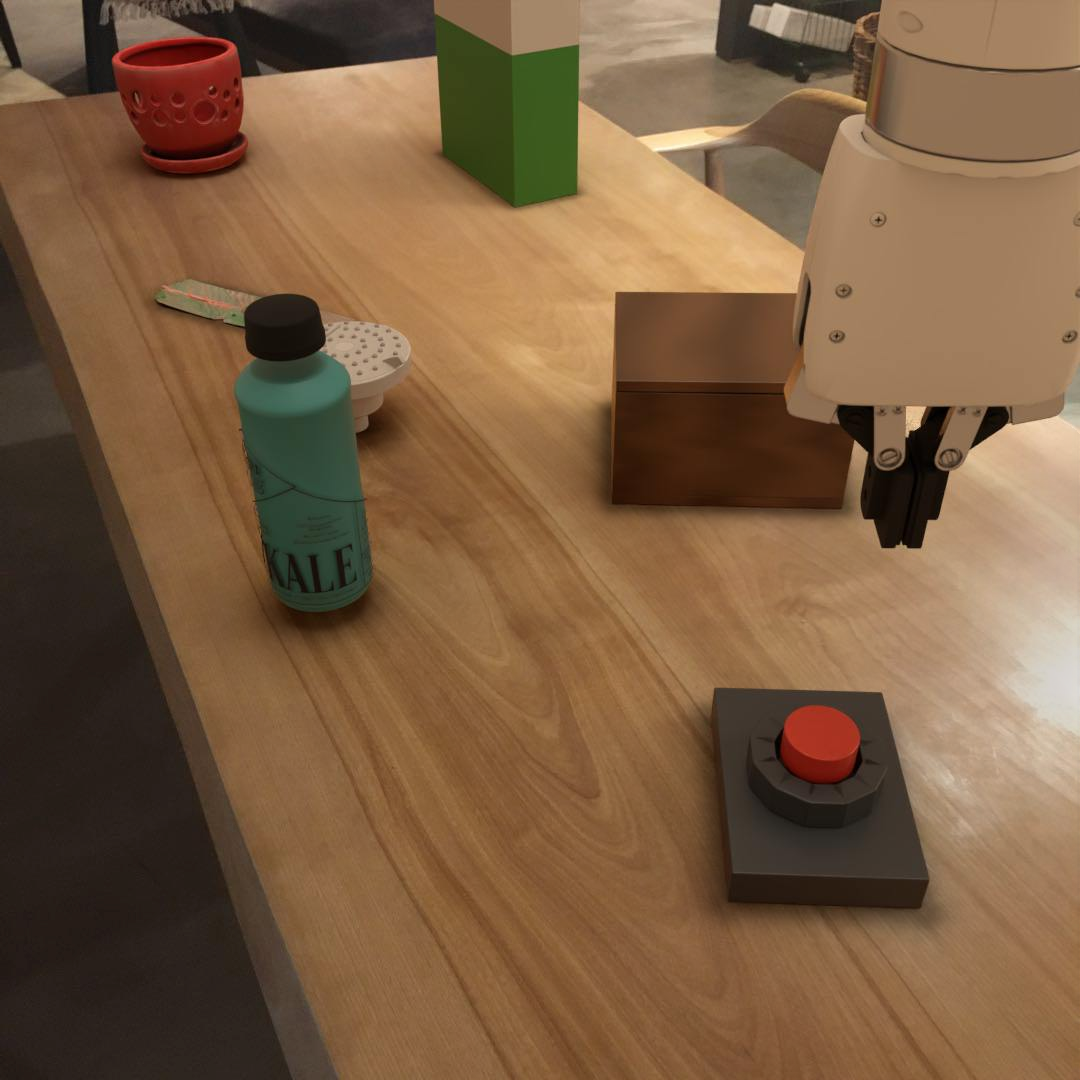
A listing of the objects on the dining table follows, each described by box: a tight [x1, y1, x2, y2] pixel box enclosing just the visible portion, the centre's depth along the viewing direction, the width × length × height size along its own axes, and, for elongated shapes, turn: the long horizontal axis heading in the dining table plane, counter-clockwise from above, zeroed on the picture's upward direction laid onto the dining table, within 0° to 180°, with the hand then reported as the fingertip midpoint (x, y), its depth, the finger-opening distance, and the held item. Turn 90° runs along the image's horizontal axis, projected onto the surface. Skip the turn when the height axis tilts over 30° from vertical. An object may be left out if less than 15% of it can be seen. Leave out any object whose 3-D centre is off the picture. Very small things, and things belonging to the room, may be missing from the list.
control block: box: [710, 687, 931, 909], centre depth 59 cm, size 12×9×4 cm
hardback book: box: [433, 0, 581, 208], centre depth 121 cm, size 18×7×24 cm, turn 29°
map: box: [154, 278, 357, 328], centre depth 103 cm, size 5×20×1 cm, turn 63°
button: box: [780, 705, 860, 784], centre depth 57 cm, size 4×4×2 cm
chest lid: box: [614, 291, 800, 393], centre depth 79 cm, size 17×13×1 cm
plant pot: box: [111, 36, 249, 175], centre depth 129 cm, size 13×13×12 cm
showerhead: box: [319, 320, 412, 434], centre depth 86 cm, size 9×7×10 cm
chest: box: [610, 318, 856, 509], centre depth 82 cm, size 16×13×9 cm
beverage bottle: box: [233, 293, 376, 613], centre depth 67 cm, size 6×7×20 cm
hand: (894, 528), depth 51 cm, fingers closed
